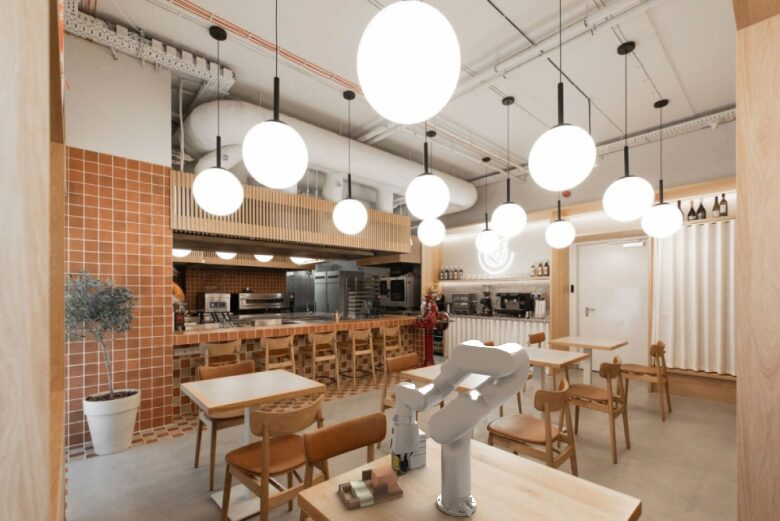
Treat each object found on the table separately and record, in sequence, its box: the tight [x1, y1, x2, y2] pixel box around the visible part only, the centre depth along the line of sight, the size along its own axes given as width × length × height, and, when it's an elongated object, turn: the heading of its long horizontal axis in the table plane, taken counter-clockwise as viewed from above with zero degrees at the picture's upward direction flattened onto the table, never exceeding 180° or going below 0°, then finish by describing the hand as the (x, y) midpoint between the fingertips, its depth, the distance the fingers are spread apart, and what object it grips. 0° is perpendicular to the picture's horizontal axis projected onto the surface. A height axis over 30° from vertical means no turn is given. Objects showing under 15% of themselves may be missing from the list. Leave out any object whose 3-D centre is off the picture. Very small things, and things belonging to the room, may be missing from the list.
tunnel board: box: [338, 468, 404, 511], centre depth 125 cm, size 12×19×5 cm, turn 113°
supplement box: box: [408, 428, 427, 470], centre depth 147 cm, size 7×7×13 cm
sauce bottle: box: [390, 455, 407, 475], centre depth 141 cm, size 6×6×20 cm
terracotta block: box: [370, 464, 397, 489], centre depth 127 cm, size 6×7×4 cm
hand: (403, 470), depth 131 cm, fingers closed
